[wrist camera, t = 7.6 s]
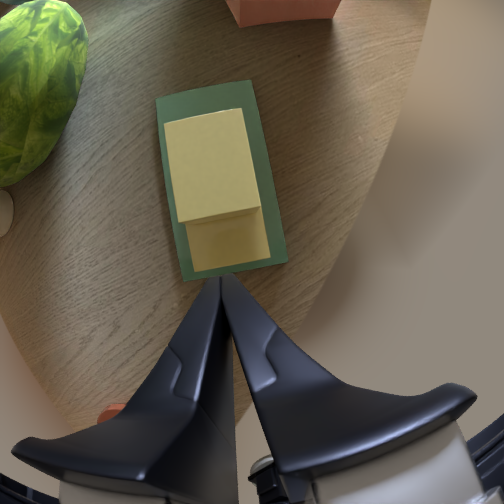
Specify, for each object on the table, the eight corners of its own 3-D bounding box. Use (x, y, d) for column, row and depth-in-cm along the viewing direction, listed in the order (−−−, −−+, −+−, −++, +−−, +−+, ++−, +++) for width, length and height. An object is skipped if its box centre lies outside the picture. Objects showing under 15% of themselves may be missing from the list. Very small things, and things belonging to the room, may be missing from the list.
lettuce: (129, 39, 25) (81, -45, 10) (90, 173, 19) (-39, 60, 5) (40, 86, 26) (-13, 29, 12) (-5, 215, 21) (-98, 164, 6)
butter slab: (256, 212, 20) (261, 206, 15) (191, 225, 19) (178, 223, 15) (240, 133, 19) (241, 107, 15) (178, 145, 19) (163, 123, 15)
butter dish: (286, 260, 25) (297, 266, 20) (185, 280, 24) (174, 290, 20) (250, 84, 23) (253, 58, 19) (157, 102, 23) (144, 80, 18)
